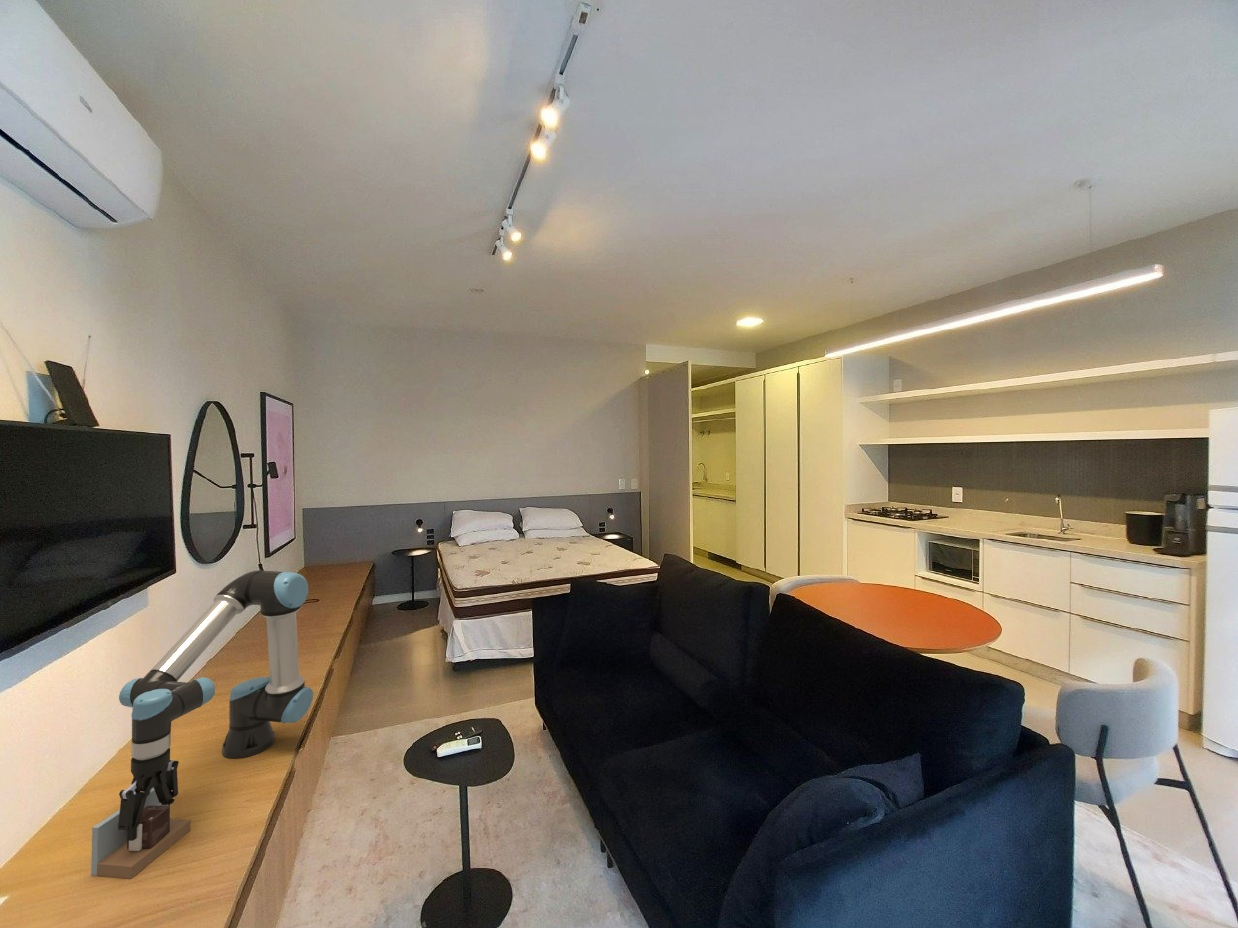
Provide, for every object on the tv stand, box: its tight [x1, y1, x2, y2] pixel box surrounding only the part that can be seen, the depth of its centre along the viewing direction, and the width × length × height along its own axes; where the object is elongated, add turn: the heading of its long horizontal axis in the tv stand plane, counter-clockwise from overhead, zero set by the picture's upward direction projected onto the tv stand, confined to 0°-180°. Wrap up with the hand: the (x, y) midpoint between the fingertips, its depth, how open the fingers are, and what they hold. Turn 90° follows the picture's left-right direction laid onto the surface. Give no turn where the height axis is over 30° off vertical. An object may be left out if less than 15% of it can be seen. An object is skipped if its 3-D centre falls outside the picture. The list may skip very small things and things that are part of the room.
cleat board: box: [90, 787, 192, 880], centre depth 131 cm, size 16×10×12 cm, turn 177°
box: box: [127, 805, 171, 849], centre depth 131 cm, size 6×6×7 cm
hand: (148, 839), depth 131 cm, fingers closed on box, 6 cm apart
